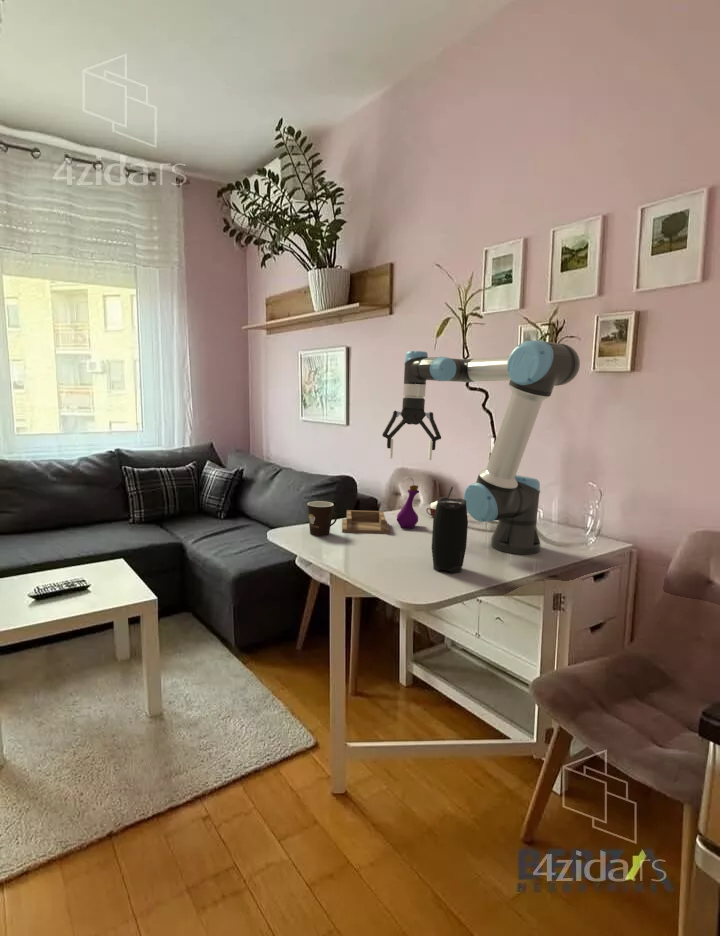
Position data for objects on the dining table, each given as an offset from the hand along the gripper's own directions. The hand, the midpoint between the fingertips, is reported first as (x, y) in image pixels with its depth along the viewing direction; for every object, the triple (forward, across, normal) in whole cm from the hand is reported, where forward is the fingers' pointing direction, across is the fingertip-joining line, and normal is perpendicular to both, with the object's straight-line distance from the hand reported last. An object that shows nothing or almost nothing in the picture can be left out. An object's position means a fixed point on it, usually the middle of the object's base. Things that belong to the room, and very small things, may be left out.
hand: (410, 458), depth 196 cm
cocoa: (+25, -14, -16) cm, 32 cm away
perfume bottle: (+24, 0, 0) cm, 25 cm away
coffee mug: (+24, +30, +14) cm, 41 cm away
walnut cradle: (+24, +15, +3) cm, 29 cm away
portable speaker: (+24, -6, +45) cm, 52 cm away
